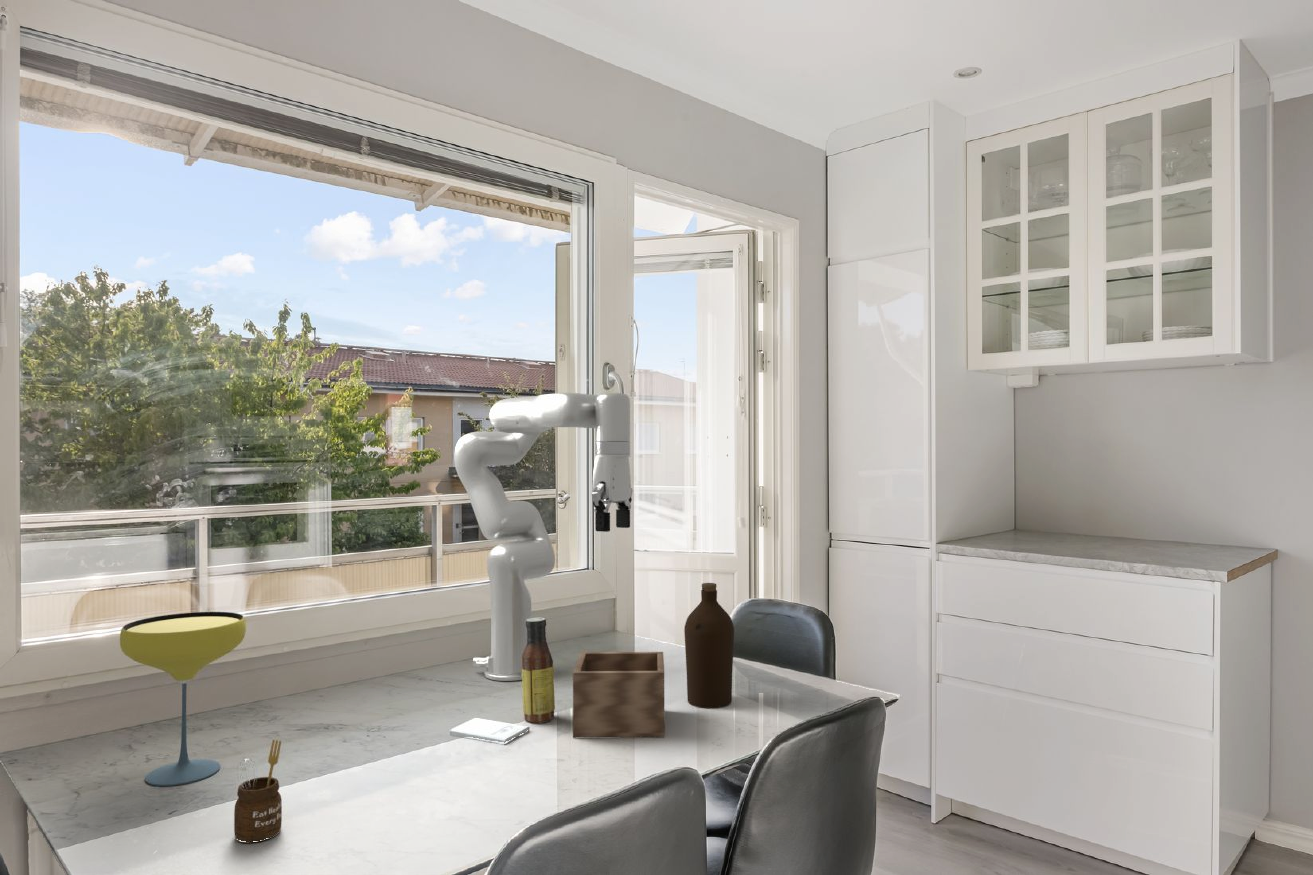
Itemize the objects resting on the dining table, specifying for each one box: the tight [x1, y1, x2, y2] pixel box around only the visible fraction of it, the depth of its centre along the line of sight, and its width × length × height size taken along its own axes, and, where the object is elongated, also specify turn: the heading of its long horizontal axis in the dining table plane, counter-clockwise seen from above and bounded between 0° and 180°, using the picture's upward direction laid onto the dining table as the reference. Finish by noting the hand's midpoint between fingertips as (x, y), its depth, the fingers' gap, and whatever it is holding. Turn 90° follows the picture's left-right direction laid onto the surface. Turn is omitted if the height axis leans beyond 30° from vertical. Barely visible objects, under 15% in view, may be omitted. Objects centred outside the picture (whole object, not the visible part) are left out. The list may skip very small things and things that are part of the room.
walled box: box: [572, 651, 666, 739], centre depth 160 cm, size 17×16×12 cm
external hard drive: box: [449, 717, 531, 743], centre depth 154 cm, size 2×8×12 cm
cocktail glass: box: [119, 611, 247, 787], centre depth 135 cm, size 18×18×25 cm
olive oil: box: [683, 582, 735, 709], centre depth 174 cm, size 11×11×25 cm
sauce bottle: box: [521, 616, 556, 724], centre depth 163 cm, size 6×6×20 cm
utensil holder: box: [233, 739, 283, 842], centre depth 113 cm, size 6×6×12 cm
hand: (613, 529), depth 176 cm, fingers open, 9 cm apart
